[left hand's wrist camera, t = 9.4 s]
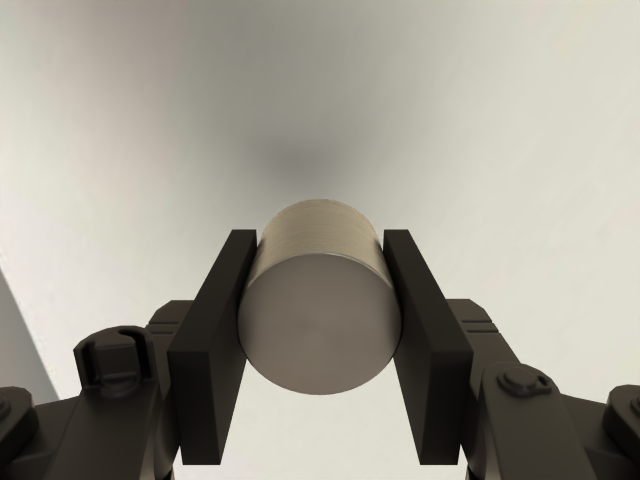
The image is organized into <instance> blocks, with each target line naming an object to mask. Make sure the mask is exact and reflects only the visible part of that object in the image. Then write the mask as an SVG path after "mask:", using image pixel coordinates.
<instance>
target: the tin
mask: <svg viewBox="0 0 640 480" xmlns="http://www.w3.org/2000/svg"><path fill="white" fill-rule="evenodd" d="M236 323H237V335H238V340H239V343H240V346H241V349H242V350H243V352H244V354H245V356H246V358H247V359H248V361H249V362H250V363H251V365H252V366H253V367H254V368H255V369H256V370H257V371H258V372H259V373H260V374H261V375H263V376H264V377H265V378H266V379H268V380H270V381H271V382H273V383H274V384H276V385H278V386H280V387H282V388H285V389H288V390H291V391H294V392H298V393H303V394H310V395H327V394H335V393H341V392H345V391H348V390H351V389H354V388H356V387H358V386H361V385H363V384H364V383H366V382H368V381H370V380H371V379H372V378H374V377H375V376H376V375H378V374H379V373H380V372H381V371H382V370H383V369H384V368H385V367H386V366H387V364H388V363H389V362H390V361H391V359H392V357H393V356H394V354H395V352H396V350H397V348H398V346H399V343H400V340H401V336H402V330H403V314H402V309H401V305H400V302H399V299H398V296H397V293H396V290H395V287H394V284H393V281H392V278H391V275H390V272H389V269H388V266H387V263H386V260H385V257H384V254H383V251H382V248H381V245H380V242H379V239H378V236H377V234H376V232H375V230H374V228H373V227H372V225H371V224H370V223H369V221H368V220H367V219H366V218H365V217H364V216H363V215H362V214H360V213H359V212H358V211H356V210H355V209H353V208H352V207H350V206H348V205H345V204H343V203H340V202H336V201H332V200H324V199H315V200H307V201H302V202H299V203H296V204H293V205H291V206H289V207H287V208H286V209H284V210H283V211H281V212H280V213H278V214H277V215H276V216H275V217H274V218H273V219H272V220H271V221H270V223H269V224H268V225H267V227H266V228H265V230H264V232H263V234H262V236H261V239H260V242H259V245H258V248H257V250H256V253H255V256H254V259H253V262H252V265H251V268H250V271H249V274H248V277H247V280H246V283H245V286H244V289H243V292H242V295H241V298H240V301H239V304H238V308H237V313H236Z"/></svg>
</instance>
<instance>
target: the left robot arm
mask: <svg viewBox="0 0 640 480" xmlns="http://www.w3.org/2000/svg"><path fill="white" fill-rule="evenodd" d="M256 250H257V235H256V230H232V231H231V233H230V235H229V237H228V239H227V240H226V242H225V244H224V246H223V248H222V250H221V252H220V253H219V255H218V257H217V259H216V261H215V263H214V264H213V266H212V268H211V270H210V272H209V274H208V276H207V277H206V279H205V281H204V283H203V285H202V287H201V288H200V290H199V292H198V294H197V296H196V298H195V300H171V301H170V302H168V303H167V304H165V305H164V306H162V307H161V308H159V309H158V310H157V311H156V312H155V313H154V315H153V316H152V318H151V319H150V321H149V324H148V325H146V327H145V328H142V327H138V326H117V327H112V328H107V329H104V330H101V331H99V332H96V333H93V334H91V335H90V336H88V337H86V338H85V339H83V340H82V341H80V342H79V343H78V345H77V346H76V347H75V348H74V349H73V352H74V356H75V360H76V365H77V369H78V373H79V377H80V382H81V386H82V390H81V392H80V395H79V396H76V397H72V398H69V399H64V400H60V401H56V402H50V403H46V404H41V405H36V406H35V405H34V402H33V398H32V395H31V394H30V393H29V392H28V391H27V390H26V389H24V388H19V387H14V386H12V387H2V388H0V480H175V478H174V471H173V462H174V460H175V457H176V454H177V452H178V449H179V446H180V449H181V456H182V463H183V465H220V464H221V460H222V456H223V452H224V448H225V444H226V440H227V436H228V432H229V428H230V424H231V420H232V416H233V412H234V408H235V404H236V400H237V396H238V392H239V388H240V384H241V380H242V376H243V372H244V368H245V364H246V360H247V358H246V356H245V354H244V352H243V350H242V349H241V346H240V343H239V340H238V335H237V323H236V313H237V308H238V304H239V301H240V298H241V295H242V292H243V289H244V286H245V283H246V280H247V277H248V274H249V271H250V268H251V265H252V262H253V259H254V256H255V253H256ZM383 254H384V257H385V260H386V263H387V266H388V269H389V272H390V275H391V278H392V281H393V284H394V287H395V290H396V293H397V296H398V299H399V302H400V305H401V309H402V314H403V330H402V336H401V340H400V343H399V346H398V348H397V350H396V352H395V354H394V356H393V359H394V363H395V367H396V371H397V375H398V379H399V383H400V387H401V391H402V395H403V399H404V403H405V407H406V411H407V415H408V419H409V423H410V426H411V430H412V434H413V438H414V442H415V446H416V450H417V454H418V458H419V462H420V465H458V458H459V451H460V444H461V446H462V448H463V451H464V454H465V456H466V459H467V462H468V465H467V471H466V478H465V480H640V386H639V385H629V384H628V385H622V386H617V387H615V388H614V389H613V390H612V391H611V392H610V393H609V396H608V400H607V403H606V404H604V403H599V402H594V401H590V400H585V399H580V398H575V397H571V396H568V395H564V394H561V393H560V391H559V389H558V387H557V386H556V385H555V383H554V382H553V380H552V379H551V378H550V377H548V376H547V375H545V374H544V373H543V372H541V371H540V370H538V369H535V368H533V367H531V366H528V365H526V364H521V363H520V361H519V360H518V358H517V357H516V355H515V354H514V352H513V351H512V350H511V348H510V347H509V345H508V344H507V342H506V341H505V339H504V338H503V336H502V335H501V333H499V330H498V329H497V327H496V326H495V324H494V323H492V320H491V319H490V317H489V316H488V314H487V313H486V311H485V310H484V309H483V308H482V307H480V306H479V305H477V304H476V303H474V302H473V301H471V300H470V299H445V297H444V295H443V293H442V292H441V290H440V288H439V286H438V284H437V282H436V281H435V279H434V277H433V275H432V273H431V271H430V269H429V268H428V266H427V264H426V262H425V260H424V258H423V257H422V255H421V253H420V251H419V249H418V247H417V245H416V244H415V242H414V240H413V238H412V236H411V234H410V233H409V231H408V230H384V240H383Z"/></svg>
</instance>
